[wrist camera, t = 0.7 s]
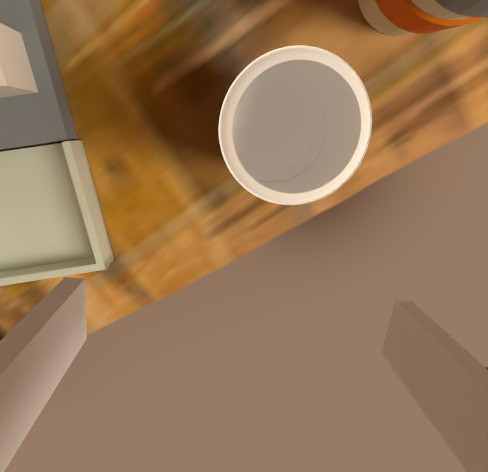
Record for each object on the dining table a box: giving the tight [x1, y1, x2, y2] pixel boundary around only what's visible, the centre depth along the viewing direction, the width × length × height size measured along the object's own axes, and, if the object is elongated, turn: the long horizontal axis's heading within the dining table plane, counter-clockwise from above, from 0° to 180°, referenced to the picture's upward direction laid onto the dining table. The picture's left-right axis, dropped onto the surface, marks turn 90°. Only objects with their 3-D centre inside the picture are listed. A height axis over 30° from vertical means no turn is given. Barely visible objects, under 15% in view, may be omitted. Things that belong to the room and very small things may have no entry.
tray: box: [0, 140, 114, 286], centre depth 36 cm, size 14×15×3 cm
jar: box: [218, 45, 372, 205], centre depth 30 cm, size 11×10×15 cm
